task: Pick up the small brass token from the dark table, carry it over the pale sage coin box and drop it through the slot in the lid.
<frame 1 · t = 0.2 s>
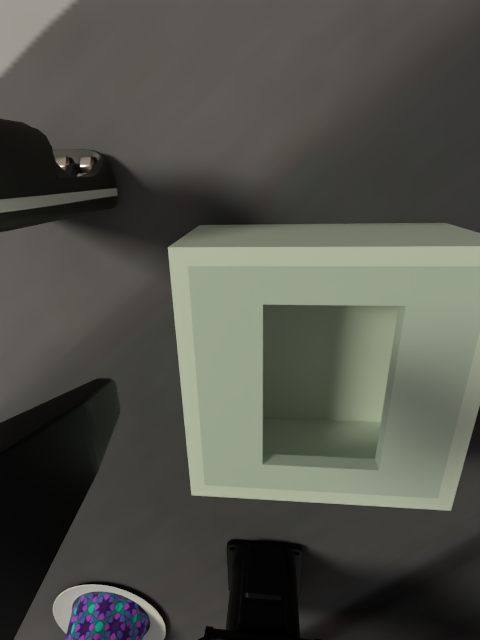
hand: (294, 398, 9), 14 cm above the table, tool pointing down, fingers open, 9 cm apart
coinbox: (311, 333, 24), on the table
battery charger: (64, 173, 21), on the table
pudding: (112, 611, 38), on the table
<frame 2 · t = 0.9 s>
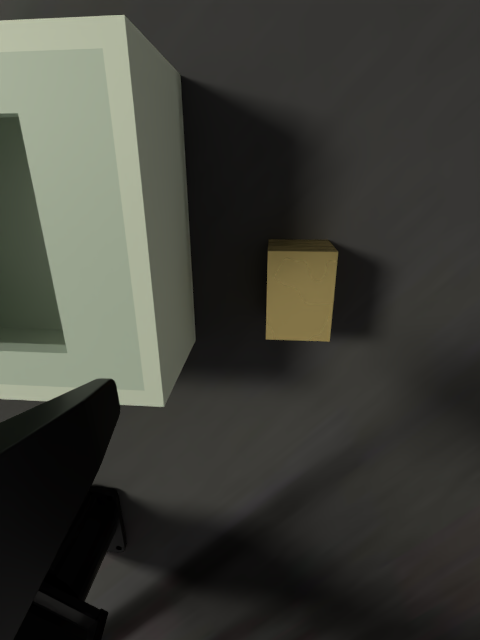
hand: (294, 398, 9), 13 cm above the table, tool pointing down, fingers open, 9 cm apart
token: (296, 278, 21), on the table
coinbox: (67, 224, 20), on the table
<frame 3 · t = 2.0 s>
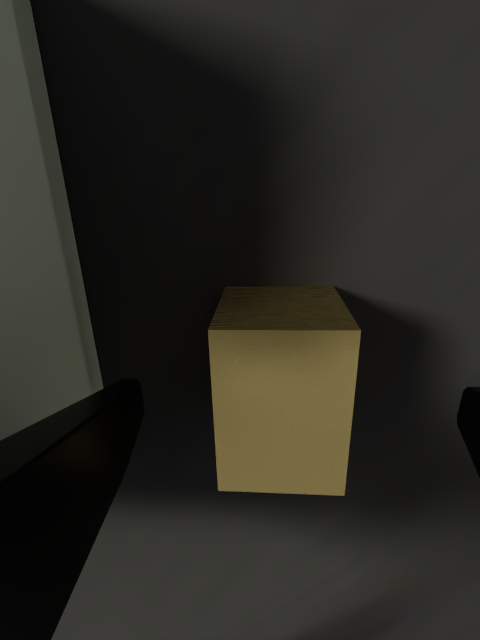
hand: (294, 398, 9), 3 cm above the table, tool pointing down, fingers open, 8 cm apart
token: (278, 352, 12), on the table
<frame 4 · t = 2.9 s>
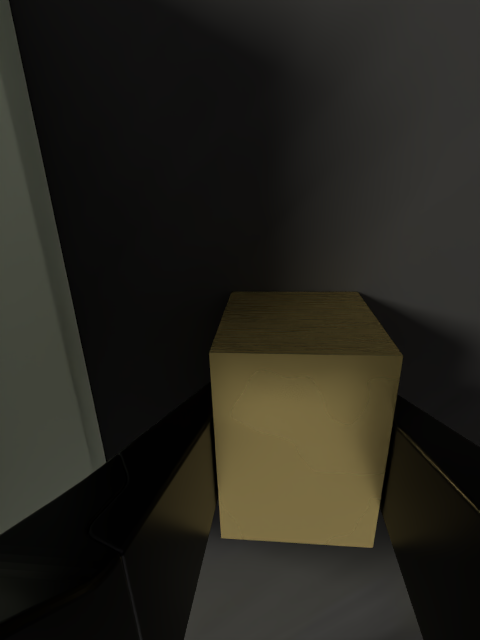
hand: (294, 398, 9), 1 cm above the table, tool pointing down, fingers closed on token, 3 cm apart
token: (291, 368, 10), on the table, touching gripper
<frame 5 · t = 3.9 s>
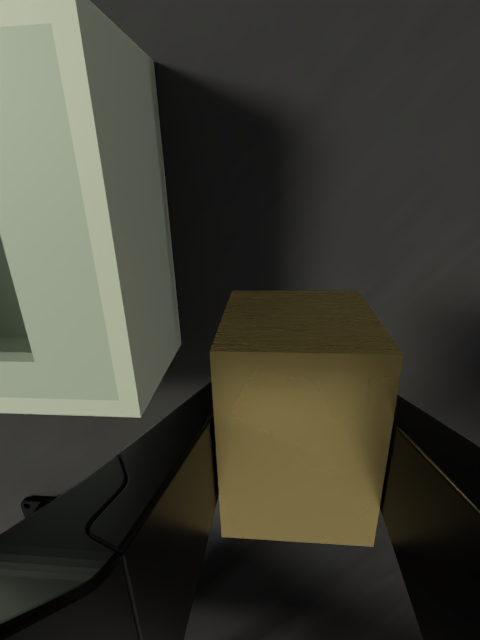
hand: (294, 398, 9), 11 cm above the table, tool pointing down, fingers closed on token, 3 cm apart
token: (291, 367, 10), point 10 cm above the table, touching gripper
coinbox: (42, 224, 19), on the table
when the fingers open (9 cm above the table, at t = 5.2 s): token drops 7 cm, resting on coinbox.
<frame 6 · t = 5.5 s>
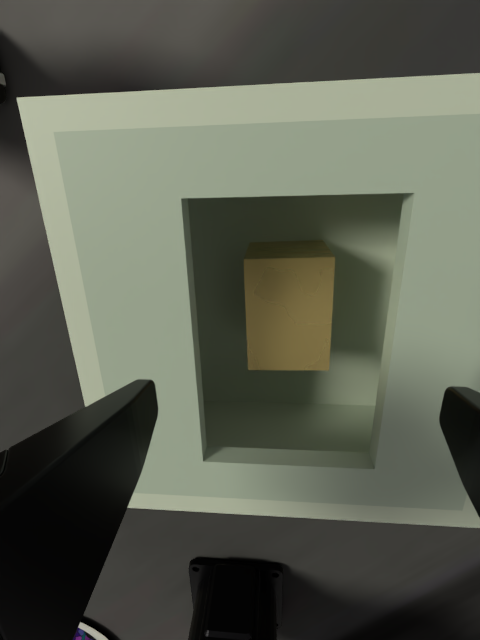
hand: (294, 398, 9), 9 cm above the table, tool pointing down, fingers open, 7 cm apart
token: (285, 290, 17), point 1 cm above the table, touching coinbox
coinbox: (284, 285, 17), on the table
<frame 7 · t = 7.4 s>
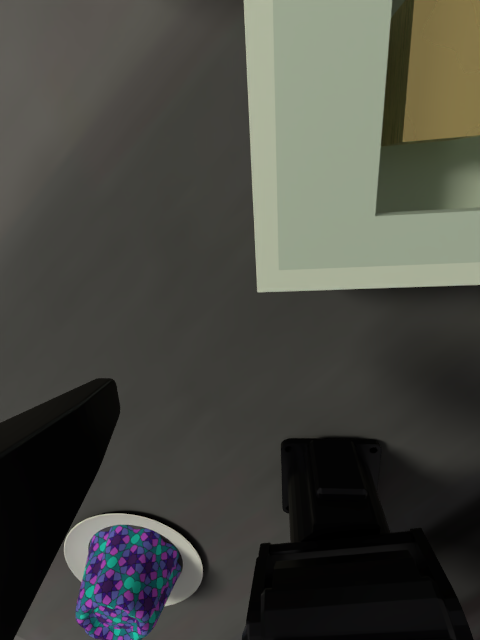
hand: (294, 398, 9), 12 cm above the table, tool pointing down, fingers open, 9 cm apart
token: (419, 85, 16), point 1 cm above the table, touching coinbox
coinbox: (411, 90, 16), on the table
pudding: (136, 552, 31), on the table
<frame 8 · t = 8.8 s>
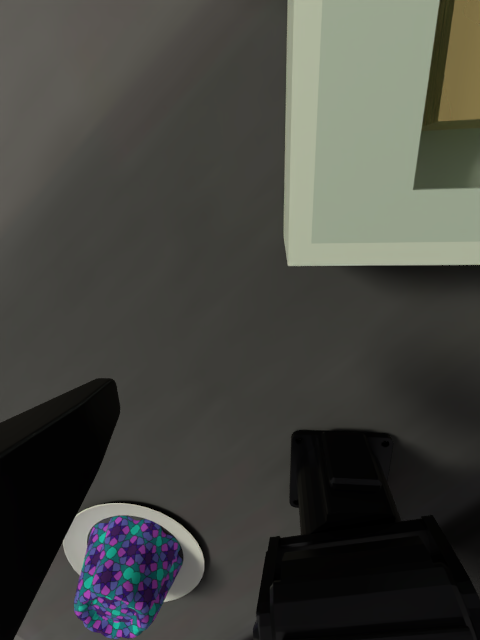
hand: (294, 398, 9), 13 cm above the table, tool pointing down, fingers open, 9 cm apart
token: (450, 71, 16), point 1 cm above the table, touching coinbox
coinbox: (441, 76, 16), on the table
pudding: (137, 545, 31), on the table
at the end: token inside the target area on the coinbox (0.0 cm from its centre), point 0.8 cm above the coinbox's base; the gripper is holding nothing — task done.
